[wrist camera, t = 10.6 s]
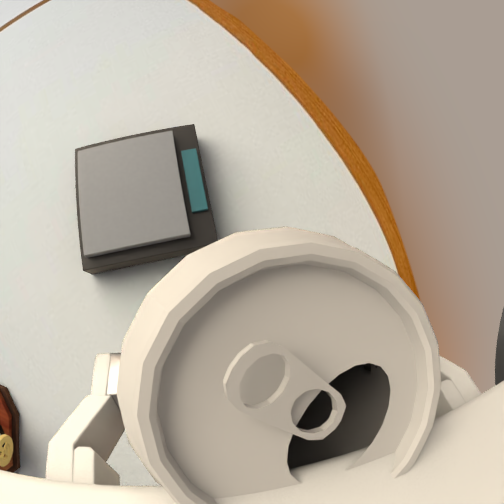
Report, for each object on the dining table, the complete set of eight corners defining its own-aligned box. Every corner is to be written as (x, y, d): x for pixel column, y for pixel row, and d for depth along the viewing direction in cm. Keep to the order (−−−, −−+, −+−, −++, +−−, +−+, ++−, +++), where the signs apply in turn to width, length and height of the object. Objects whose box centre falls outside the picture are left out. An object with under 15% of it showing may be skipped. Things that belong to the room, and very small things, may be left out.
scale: (193, 136, 32) (194, 117, 28) (216, 249, 30) (219, 240, 26) (82, 160, 29) (71, 143, 26) (91, 274, 27) (79, 269, 24)
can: (250, 439, 16) (335, 587, 4) (135, 363, 15) (26, 442, 4) (327, 331, 18) (503, 335, 6) (219, 251, 17) (265, 125, 6)
